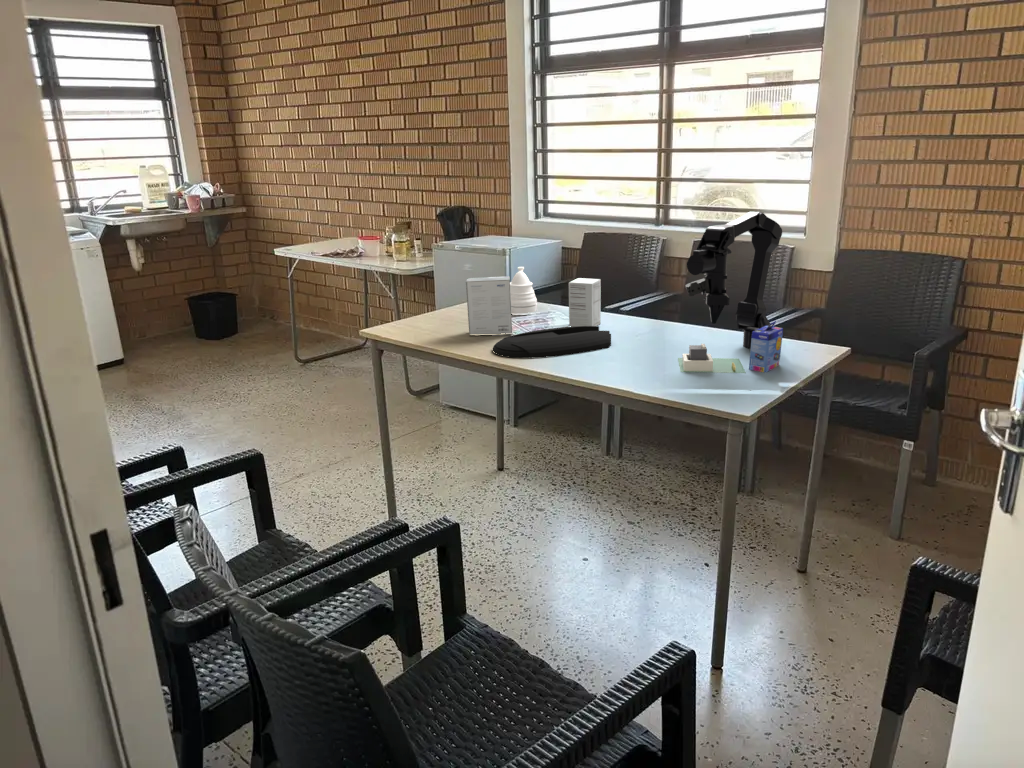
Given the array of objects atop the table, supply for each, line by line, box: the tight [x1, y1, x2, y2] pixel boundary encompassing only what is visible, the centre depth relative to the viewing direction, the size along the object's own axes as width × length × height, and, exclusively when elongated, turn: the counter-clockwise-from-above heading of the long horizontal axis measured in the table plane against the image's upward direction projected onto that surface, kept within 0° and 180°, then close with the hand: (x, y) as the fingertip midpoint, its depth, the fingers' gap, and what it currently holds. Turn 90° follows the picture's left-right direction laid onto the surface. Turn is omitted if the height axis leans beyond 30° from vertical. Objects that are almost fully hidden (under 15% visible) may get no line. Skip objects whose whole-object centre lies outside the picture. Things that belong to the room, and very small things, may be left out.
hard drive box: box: [465, 275, 513, 335], centre depth 268 cm, size 16×8×20 cm, turn 89°
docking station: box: [492, 325, 612, 358], centre depth 251 cm, size 25×41×5 cm, turn 112°
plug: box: [688, 343, 708, 360], centre depth 218 cm, size 4×4×7 cm
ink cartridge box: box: [748, 320, 784, 373], centre depth 215 cm, size 10×6×14 cm, turn 138°
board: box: [677, 357, 747, 374], centre depth 220 cm, size 15×18×2 cm
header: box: [681, 353, 713, 371], centre depth 218 cm, size 8×8×3 cm
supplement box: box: [568, 277, 602, 327], centre depth 276 cm, size 10×9×17 cm
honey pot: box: [510, 266, 538, 313], centre depth 301 cm, size 13×13×18 cm
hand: (713, 323), depth 223 cm, fingers closed
